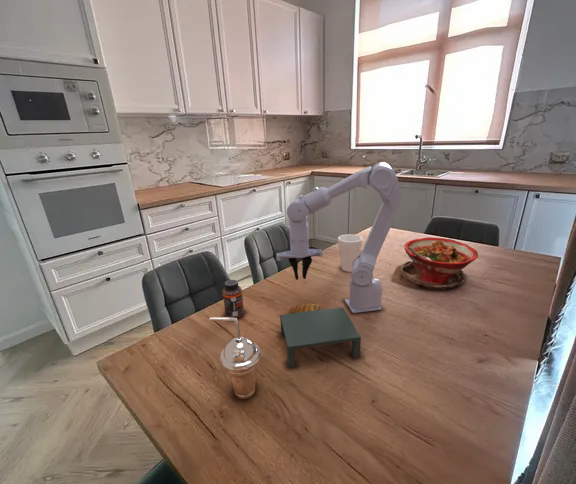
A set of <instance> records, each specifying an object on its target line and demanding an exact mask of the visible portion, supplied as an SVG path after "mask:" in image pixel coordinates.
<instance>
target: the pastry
mask: <svg viewBox="0 0 576 484" xmlns="http://www.w3.org/2000/svg"><path fill="white" fill-rule="evenodd" d="M315 310H321V306H320V304H318V303H317V304H314V303H309V302H306V303H302V304H296V305H293V306H291V308H290V309H289V314H291V313H299V312H307V311H315Z"/></svg>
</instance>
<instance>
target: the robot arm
mask: <svg viewBox="0 0 576 484" xmlns="http://www.w3.org/2000/svg"><path fill="white" fill-rule="evenodd" d="M399 182H400V181H399V179H398V177H397V174H396V172H395V171H394V169H393V168H392V166H391V165H390V164H389V163H387V162H385V161H383V162H382V161H380V162H377V163H375V164H373V165H372V166H371V165H370V166H367V167H365V168H363V169H360V170H358V171H356V172H354V173H353V174H351V175H349V176H347V177H345V178H343V179H342V180H340V181H338V182H336V183H335V184H333V185H331V186H329V187H324V186H319V187H318V186H315V187H314V188H313V189H312V191H311V192H309V193H307V194H305V195H303V194H301V195H300V196H298V198H296V199H294V200H293V201H292V202H290V204H289V205H288V206H287V208H286V216H287V218H288V219H289V224H288V225H289V226H288V228H289V249H290V250H286V251H282V252H276V261H277V262H281V261H282V260H283V261H284V260H288V262H289V264H290V266H291V268H292V271H293V274H294V278H295V281H298V280H299V271H298V268H299V262H298V259H301V265H302V268H301V269H302V271H301V276H302V279H303V280H306V279H307V274H308V271H309V268H310V266H311V265H312V262H313V257H319V258H321V257H324V256H323V255H324V254H323V253H324V252H323V249H322V248H309V222H308V215H313V214H315V213H316V212H318V211H320V210H322V209H324V208H326V207H328V206H330V205H331V204H332V202H333V201H332V200H333V199H335V198H337V197H339V196H341V195H344V194H346V193H348V192H350V191H352V190H354V189H356V188H363V189H369V188H370V187H369V185H370V186H371V188H372V189H373V190H374V191H376V192H377V193H378V194H379V197H380V199H381V201H382V202H381V205H380V207H379V209H378V212H377V214H376V216H375V219H374V221H373V224H372V226H371V228H370V230H369V232H368V236H367V238H366V240H365V243H364V245H363V247H362V248H361V251H360V254H359V256H358V257H356V258H355V259H354V261H353V265H352V266H353V268H352V272H350V273H351V274H350V278H349V295H348V296H349V297H348V298H345V299H344V303H346V306H348V308H349V309H350V311H351V313H353V314H357V313H359V314H360V313H366V312H374V311H381V310H382V309H383V308H382V296H383V294H382V293H383V288H382V287H383V286H382V283H381V281H380V280H379V278H374V269H375V267H376V262H377V258H378V256H379V254H380V252H381V250H382V247H383V245H384V243H385V241H386V238H387V236H388V234H389V232H390V229H391V227H392V225H393V223H394V221H395V218H396V216H397V214H398V212H399V210H400V207H401V205H402V202H403V197H402V192H401V187H400V183H399Z"/></svg>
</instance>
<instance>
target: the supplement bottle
mask: <svg viewBox="0 0 576 484" xmlns="http://www.w3.org/2000/svg"><path fill="white" fill-rule="evenodd" d="M222 299H223V306H224V314H225V316H226V317H234V318H236V319H239V318H241V317H242V316H243V315H244V314H245V308H244V307H245V305H244V295H243V288H242V287H241V286H239V281H238V280H237V279H228V280H226V281H225V282H224V288H223V289H222Z"/></svg>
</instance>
